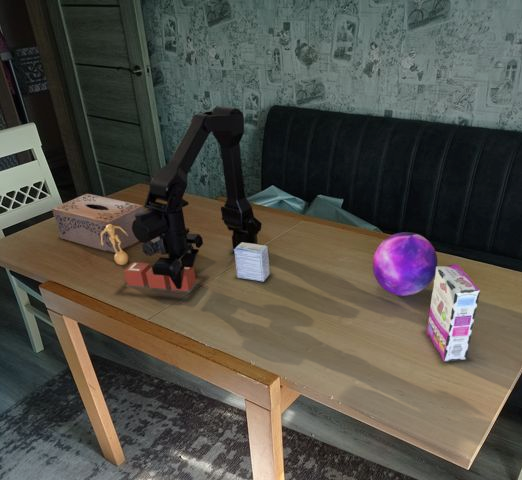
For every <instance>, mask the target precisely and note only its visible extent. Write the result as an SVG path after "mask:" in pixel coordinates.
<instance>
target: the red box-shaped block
mask: <svg viewBox="0 0 522 480" xmlns="http://www.w3.org/2000/svg"><path fill="white" fill-rule="evenodd" d="M146 275H147V280H148V287H149V288H159V289H167V288H168V286H169V285H170V280H169V276H165V275H154V274H153V271H152V266H150V269H149V270H148V271H147V272H146Z"/></svg>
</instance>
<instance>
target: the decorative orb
mask: <svg viewBox="0 0 522 480" xmlns="http://www.w3.org/2000/svg"><path fill="white" fill-rule="evenodd" d="M437 256H438V255H437V252H436V249H435V247H434V245H432V243H431V242H430V241H429V240H428V239H427V238H425V237H424V236H423V235H421V234H418V233H415V232H410V231H405V232H404V231H403V232H396V233H394V234H392V235H390V236H388V237H387V238H386V239H384V240H383V241H382V242H381V243H380V244H379V245H378V247H377V248H376V250H375V252H374V254H373V258H372V272H373V276H374V278H375V280H376V282H377V283H378V285H379V286H380V287H381V288H382V289H383V290H385V291H386V292H388V293H390V294H392V295H395V296H401V297H402V296H404V297H405V296H406V297H407V296H412V295H415V294H418V293H420V292H422V291H424V290H425V289H426V288H427V287H428V286H429V285H430V284H431V283H432V282H433V281H434V278H435V271H436V267H437V266H438V265H439V264H438V263H439V262H438V257H437Z"/></svg>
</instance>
